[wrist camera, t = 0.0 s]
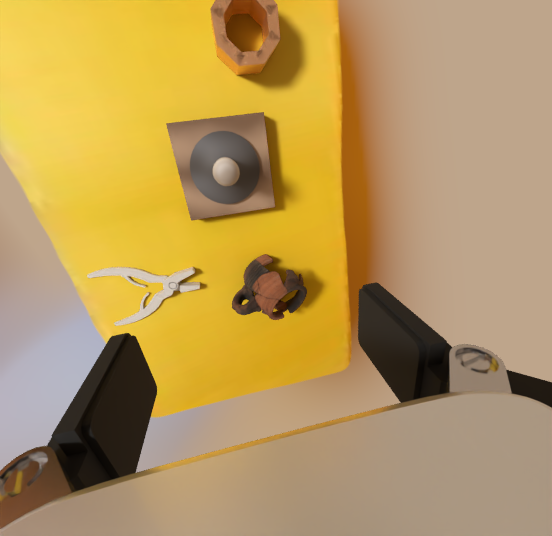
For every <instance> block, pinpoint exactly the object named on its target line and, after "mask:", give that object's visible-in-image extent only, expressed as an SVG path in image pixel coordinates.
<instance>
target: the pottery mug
mask: <svg viewBox="0 0 552 536" xmlns="http://www.w3.org/2000/svg"><path fill="white" fill-rule="evenodd" d="M272 262H273V259H272V258H271V257H269V256H268V255H267V254H265V255H262V256H260V257H258V258H256V259H255V260H254V261H252V262H251V263H250V264H249V266H248V267H247V268H246V270H245V273H244V282H245V285H244V286H243V288H242V289H241V290H240V291H239V292H237V294H236V295H235V296H234V299H233V301H232V308H233V309H234V310H235V311H236V312H237V313H238V314H241V315H247V314H250V313H253V312H256V311H257V312H260V311H261V310H262V313H264V314H267V315H268V316H269V317H270V318H271V319H273V320H278V319H282V318H284V315H283V312H285V311H286V310H287V309H288V310H289V312H290V313H293V312H294V311H295V310H296V309H297V308H298V307H299V306H300V305H301V304H302V303H303V301H304V299H305V297H306V294H307V289H306V288H305V287H304V286H303V278H302V276H301V274H299V278H298V277H297V275H296V274H294V272H293V271H292V270H286V273H287V277H286V281H285V283H284V284H283V282H282V280H281V277H280V275H279V273H277V272H275V271H272V272H270V271H269V270H267V269H266V268H265V267H264V266H266V265H267V264H269V263H272ZM294 290H298V291H297V293H296V294H295V296H294V297H293V298H292V299H290V300H288V301H287V302H283V301H281V300H280V299H281V298H282V297H283V296H285V295H286V294H287V293H289V292H291V291H294ZM253 291H254V292H255V293H257V294H256V295H255V297H254V293H253ZM245 299H247V300H249V302H248V303H246V304H245V305H242V302H243V300H245ZM274 308H275V309H277V310H278V311H276V312H273V309H274Z"/></svg>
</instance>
